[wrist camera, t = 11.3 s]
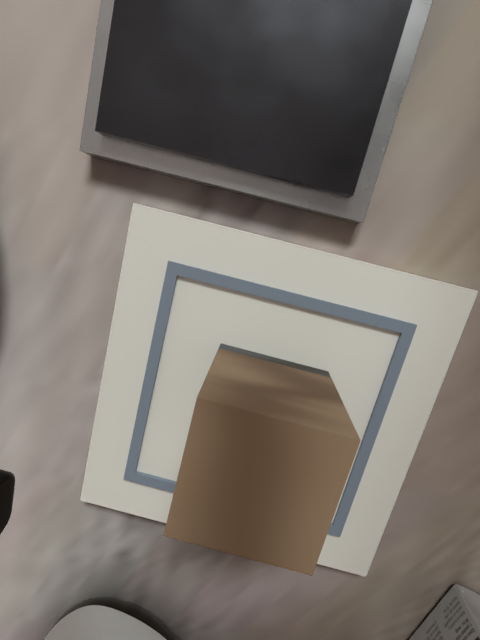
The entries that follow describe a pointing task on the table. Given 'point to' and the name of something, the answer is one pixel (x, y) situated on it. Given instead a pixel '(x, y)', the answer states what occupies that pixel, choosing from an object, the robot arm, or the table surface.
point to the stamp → (263, 461)
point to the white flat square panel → (273, 340)
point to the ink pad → (254, 94)
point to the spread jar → (108, 622)
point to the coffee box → (453, 617)
